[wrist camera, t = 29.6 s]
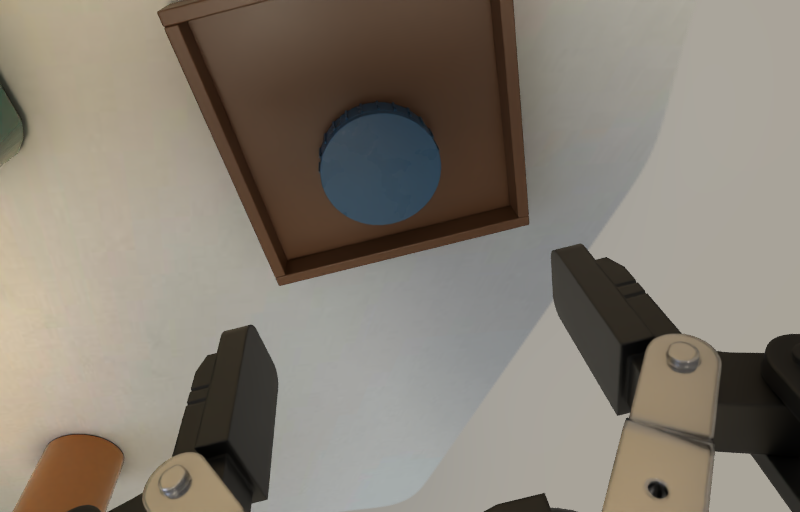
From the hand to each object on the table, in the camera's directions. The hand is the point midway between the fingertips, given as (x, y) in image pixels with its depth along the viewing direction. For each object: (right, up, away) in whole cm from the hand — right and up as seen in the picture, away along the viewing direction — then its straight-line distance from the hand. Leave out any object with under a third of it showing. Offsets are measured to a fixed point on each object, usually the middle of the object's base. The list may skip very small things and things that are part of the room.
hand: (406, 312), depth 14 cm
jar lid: (-1, +6, +12) cm, 13 cm away
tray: (-2, +8, +12) cm, 15 cm away
